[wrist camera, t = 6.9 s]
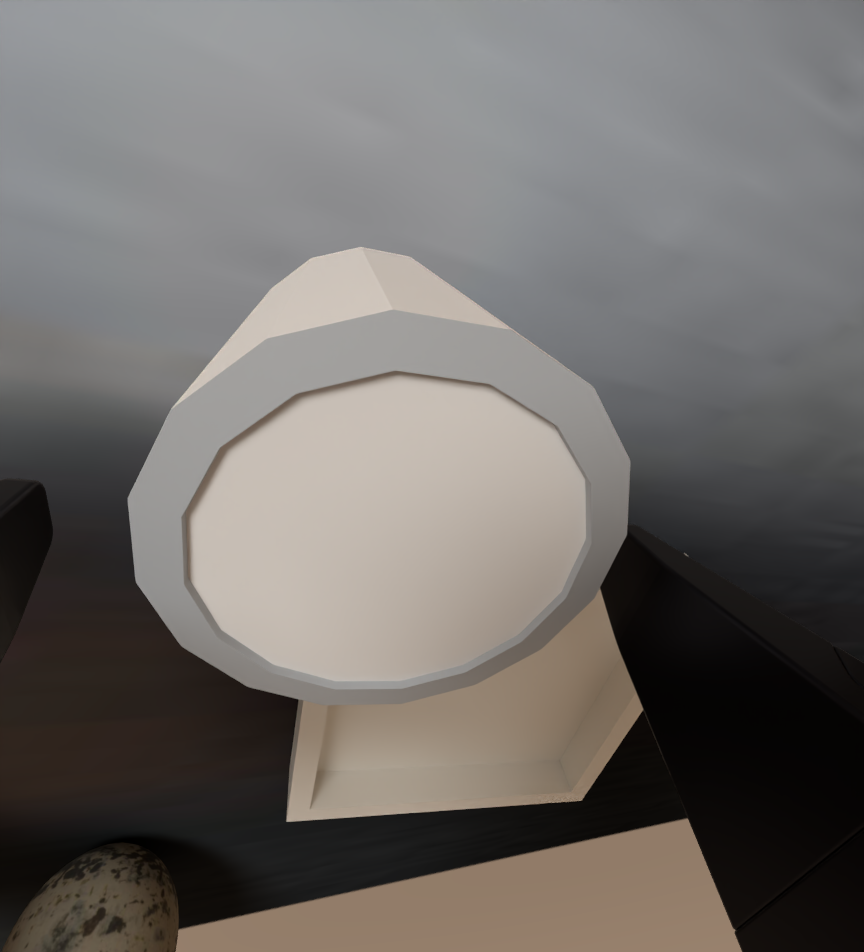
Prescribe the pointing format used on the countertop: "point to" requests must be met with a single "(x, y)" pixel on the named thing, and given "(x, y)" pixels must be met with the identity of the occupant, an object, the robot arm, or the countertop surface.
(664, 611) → the robot arm
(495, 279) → the countertop surface
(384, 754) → the tray
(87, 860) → the decorative egg
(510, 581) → the white cup
